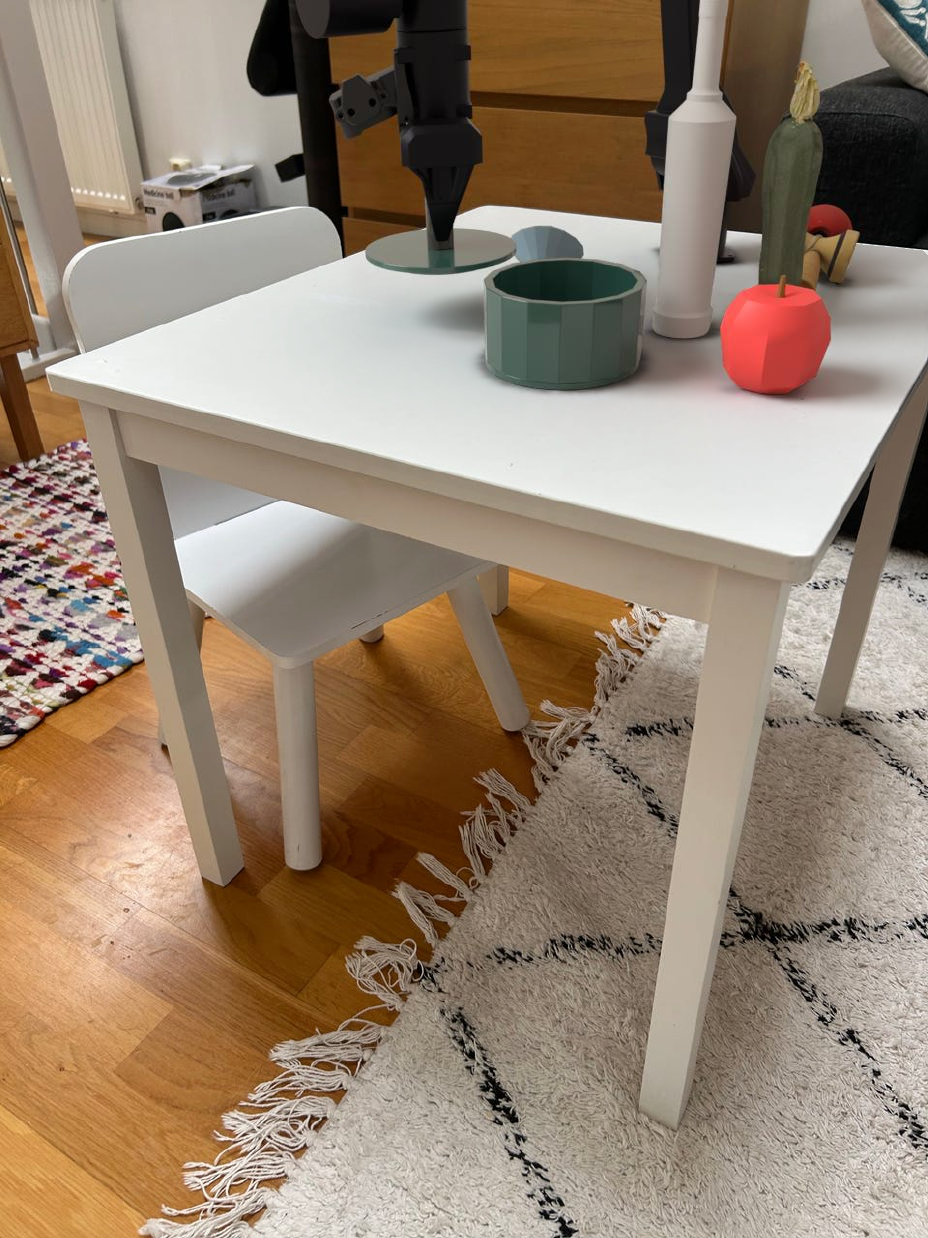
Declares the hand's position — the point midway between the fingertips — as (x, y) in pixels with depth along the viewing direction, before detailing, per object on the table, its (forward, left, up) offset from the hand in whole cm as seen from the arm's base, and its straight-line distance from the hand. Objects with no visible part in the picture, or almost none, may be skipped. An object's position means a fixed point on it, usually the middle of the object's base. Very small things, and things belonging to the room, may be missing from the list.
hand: (441, 236), depth 84 cm
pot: (+13, +9, -7) cm, 17 cm away
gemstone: (-11, +11, -7) cm, 17 cm away
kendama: (-4, +36, -7) cm, 37 cm away
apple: (+20, +23, -7) cm, 32 cm away
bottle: (+7, +20, -7) cm, 23 cm away
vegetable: (+7, +28, -7) cm, 30 cm away
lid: (0, 0, -1) cm, 1 cm away
